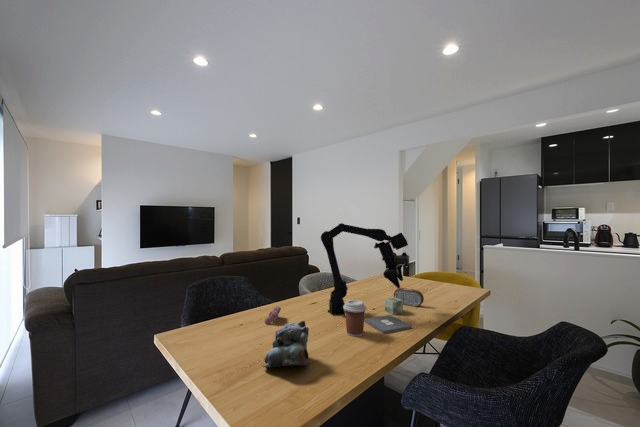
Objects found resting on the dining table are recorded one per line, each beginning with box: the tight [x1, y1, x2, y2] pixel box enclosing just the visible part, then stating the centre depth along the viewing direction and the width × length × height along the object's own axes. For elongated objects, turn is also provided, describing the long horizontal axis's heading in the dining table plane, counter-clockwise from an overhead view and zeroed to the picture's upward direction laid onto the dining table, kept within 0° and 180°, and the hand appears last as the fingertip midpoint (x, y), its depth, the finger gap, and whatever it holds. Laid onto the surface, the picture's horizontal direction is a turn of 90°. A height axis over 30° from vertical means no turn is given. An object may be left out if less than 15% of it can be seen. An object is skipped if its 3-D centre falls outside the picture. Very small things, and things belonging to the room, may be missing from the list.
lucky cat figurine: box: [262, 320, 310, 369], centre depth 85 cm, size 15×12×14 cm
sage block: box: [384, 297, 404, 316], centre depth 132 cm, size 6×6×6 cm
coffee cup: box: [343, 299, 367, 337], centre depth 108 cm, size 9×9×12 cm
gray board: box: [364, 314, 413, 334], centre depth 116 cm, size 14×14×1 cm
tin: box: [393, 287, 425, 308], centre depth 143 cm, size 15×3×8 cm, turn 58°
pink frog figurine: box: [264, 306, 282, 325], centre depth 121 cm, size 10×5×7 cm, turn 179°
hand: (400, 284), depth 130 cm, fingers open, 9 cm apart
